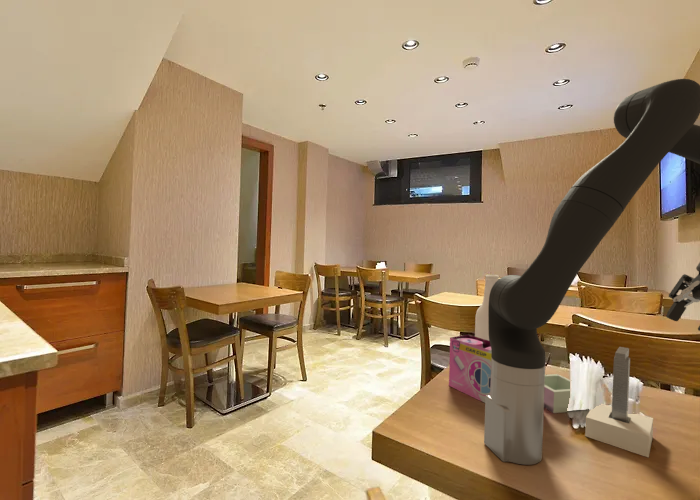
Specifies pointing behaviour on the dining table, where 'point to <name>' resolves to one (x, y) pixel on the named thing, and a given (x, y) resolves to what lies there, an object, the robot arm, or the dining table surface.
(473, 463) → the dining table surface
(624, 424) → the key block
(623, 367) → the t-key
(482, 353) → the gum box
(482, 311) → the alcohol
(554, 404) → the bin
